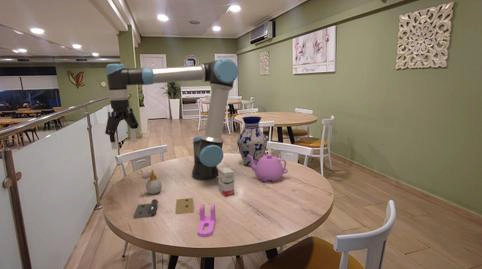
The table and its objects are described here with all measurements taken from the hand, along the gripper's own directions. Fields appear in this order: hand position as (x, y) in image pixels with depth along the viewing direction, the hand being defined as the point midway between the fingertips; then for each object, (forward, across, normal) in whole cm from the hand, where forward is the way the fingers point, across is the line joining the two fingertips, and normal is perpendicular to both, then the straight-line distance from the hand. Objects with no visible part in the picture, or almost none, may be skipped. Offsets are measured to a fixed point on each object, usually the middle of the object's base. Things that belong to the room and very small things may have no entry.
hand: (125, 145), depth 129 cm
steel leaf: (+25, +14, +16) cm, 33 cm away
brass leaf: (+26, +7, +31) cm, 41 cm away
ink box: (+26, -12, +44) cm, 53 cm away
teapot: (+26, -34, +61) cm, 74 cm away
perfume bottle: (+25, -4, +10) cm, 27 cm away
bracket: (+26, +20, +46) cm, 57 cm away
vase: (+26, -59, +47) cm, 80 cm away
